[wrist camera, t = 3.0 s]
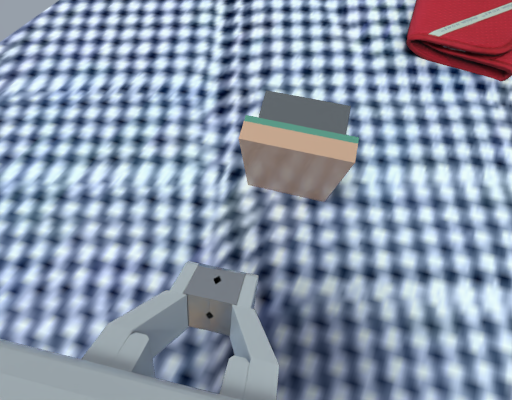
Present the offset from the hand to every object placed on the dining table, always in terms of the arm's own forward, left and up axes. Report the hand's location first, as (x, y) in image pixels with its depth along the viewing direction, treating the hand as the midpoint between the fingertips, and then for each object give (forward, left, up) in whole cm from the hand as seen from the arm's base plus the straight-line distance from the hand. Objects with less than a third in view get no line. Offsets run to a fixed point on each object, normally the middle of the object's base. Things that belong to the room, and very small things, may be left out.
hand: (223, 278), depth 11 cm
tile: (+11, +6, -21) cm, 24 cm away
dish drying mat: (+59, +14, -22) cm, 64 cm away
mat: (+17, +10, -21) cm, 29 cm away
